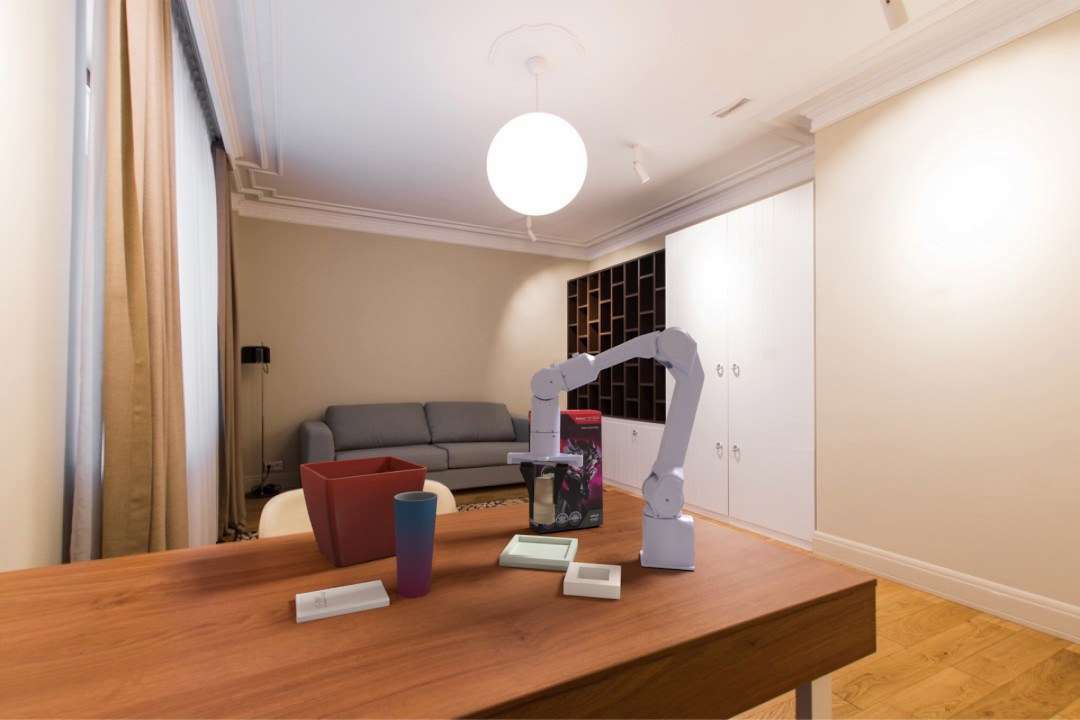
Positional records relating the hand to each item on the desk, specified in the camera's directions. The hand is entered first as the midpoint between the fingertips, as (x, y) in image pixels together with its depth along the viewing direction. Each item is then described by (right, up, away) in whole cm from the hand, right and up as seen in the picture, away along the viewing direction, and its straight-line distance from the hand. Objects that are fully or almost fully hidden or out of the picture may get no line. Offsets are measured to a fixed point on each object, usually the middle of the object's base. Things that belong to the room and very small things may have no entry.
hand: (544, 502), depth 94 cm
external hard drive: (-31, -10, -21) cm, 38 cm away
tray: (-1, -11, 0) cm, 11 cm away
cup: (-21, -10, -16) cm, 28 cm away
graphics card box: (+5, -12, +20) cm, 24 cm away
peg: (0, -3, 0) cm, 3 cm away
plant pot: (-36, -10, +2) cm, 38 cm away
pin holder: (+8, -10, -13) cm, 18 cm away
